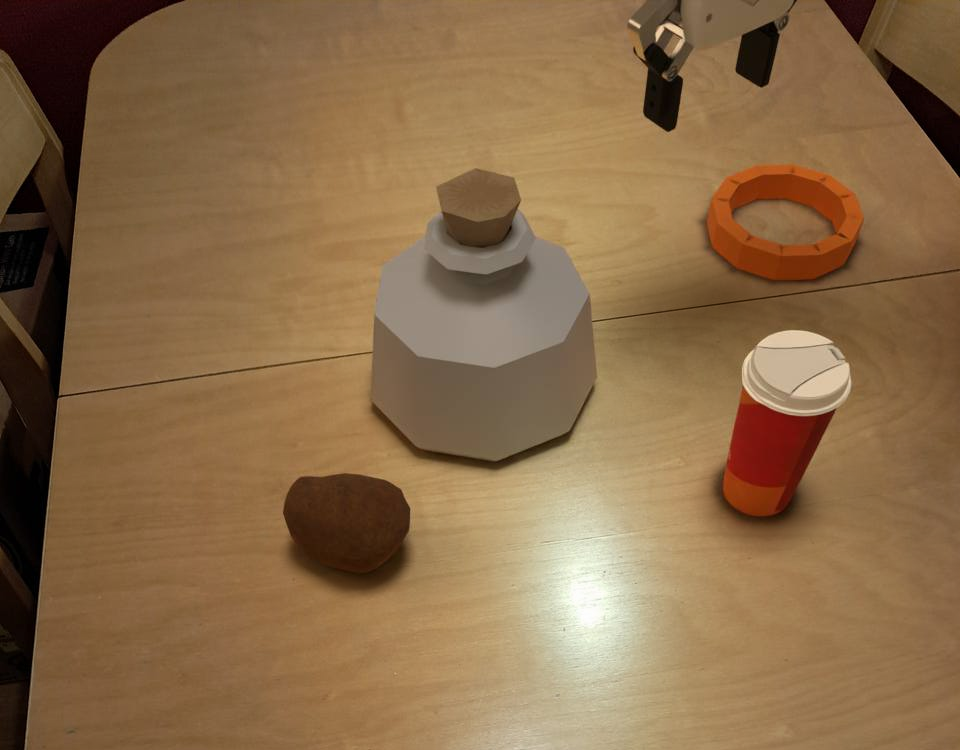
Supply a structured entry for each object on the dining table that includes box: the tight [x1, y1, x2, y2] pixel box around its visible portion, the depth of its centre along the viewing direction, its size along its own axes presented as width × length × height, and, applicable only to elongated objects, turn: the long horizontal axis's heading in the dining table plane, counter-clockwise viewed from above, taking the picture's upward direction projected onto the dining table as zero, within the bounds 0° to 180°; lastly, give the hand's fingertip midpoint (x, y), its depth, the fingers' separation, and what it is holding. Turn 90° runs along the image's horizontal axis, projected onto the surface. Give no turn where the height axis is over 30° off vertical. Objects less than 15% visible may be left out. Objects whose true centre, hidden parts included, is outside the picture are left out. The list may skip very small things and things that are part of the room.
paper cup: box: [722, 329, 852, 517], centre depth 74 cm, size 8×8×14 cm
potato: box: [282, 472, 411, 574], centre depth 74 cm, size 7×10×8 cm
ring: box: [706, 163, 865, 281], centre depth 96 cm, size 14×14×3 cm
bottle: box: [370, 167, 598, 463], centre depth 79 cm, size 20×20×19 cm
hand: (705, 100), depth 76 cm, fingers open, 9 cm apart
